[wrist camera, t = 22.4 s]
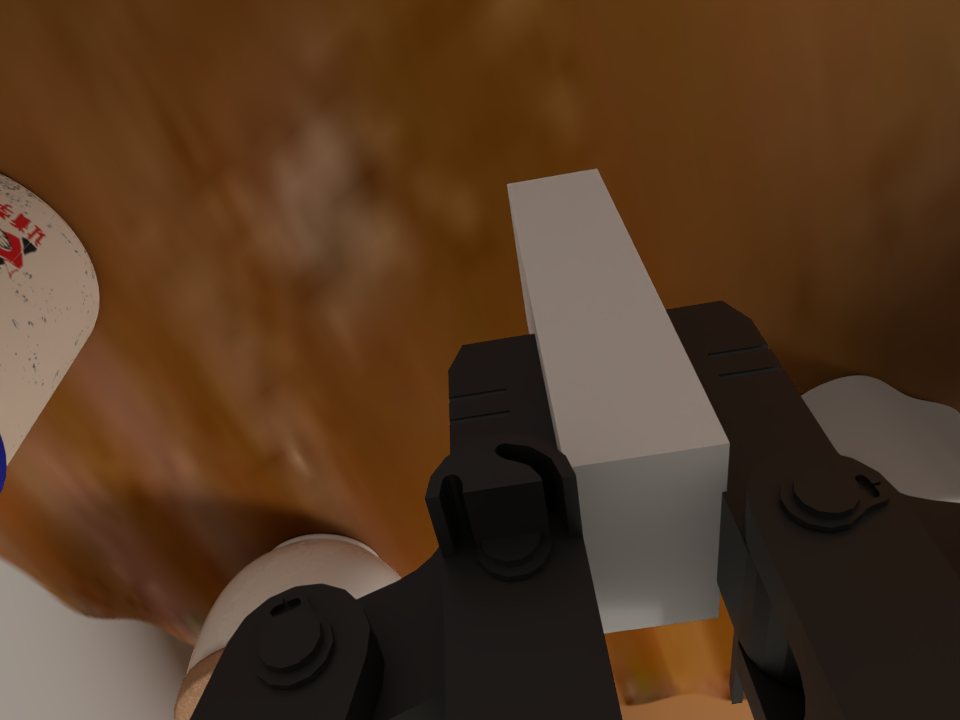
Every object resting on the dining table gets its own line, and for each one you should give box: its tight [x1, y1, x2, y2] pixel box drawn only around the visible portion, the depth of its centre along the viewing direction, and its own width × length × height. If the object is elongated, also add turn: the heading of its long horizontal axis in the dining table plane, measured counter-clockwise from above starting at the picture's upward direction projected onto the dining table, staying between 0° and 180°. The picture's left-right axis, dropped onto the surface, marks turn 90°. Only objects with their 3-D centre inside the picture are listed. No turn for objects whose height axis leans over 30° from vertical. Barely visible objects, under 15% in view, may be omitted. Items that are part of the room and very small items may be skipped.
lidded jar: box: [174, 534, 402, 720], centre depth 33 cm, size 11×11×9 cm
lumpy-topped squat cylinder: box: [801, 375, 960, 503], centre depth 32 cm, size 10×13×9 cm
